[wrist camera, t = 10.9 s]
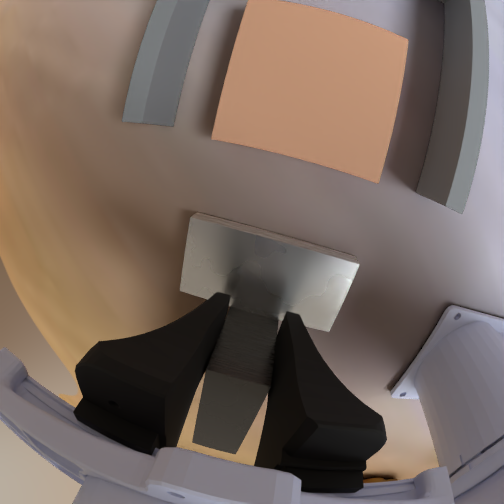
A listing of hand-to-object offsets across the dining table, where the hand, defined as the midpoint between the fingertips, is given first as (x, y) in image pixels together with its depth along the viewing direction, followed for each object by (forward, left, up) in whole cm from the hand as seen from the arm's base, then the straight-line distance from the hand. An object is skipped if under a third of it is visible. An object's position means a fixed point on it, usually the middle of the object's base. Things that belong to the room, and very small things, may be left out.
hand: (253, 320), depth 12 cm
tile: (0, -11, -3) cm, 11 cm away
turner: (0, +2, -2) cm, 3 cm away
